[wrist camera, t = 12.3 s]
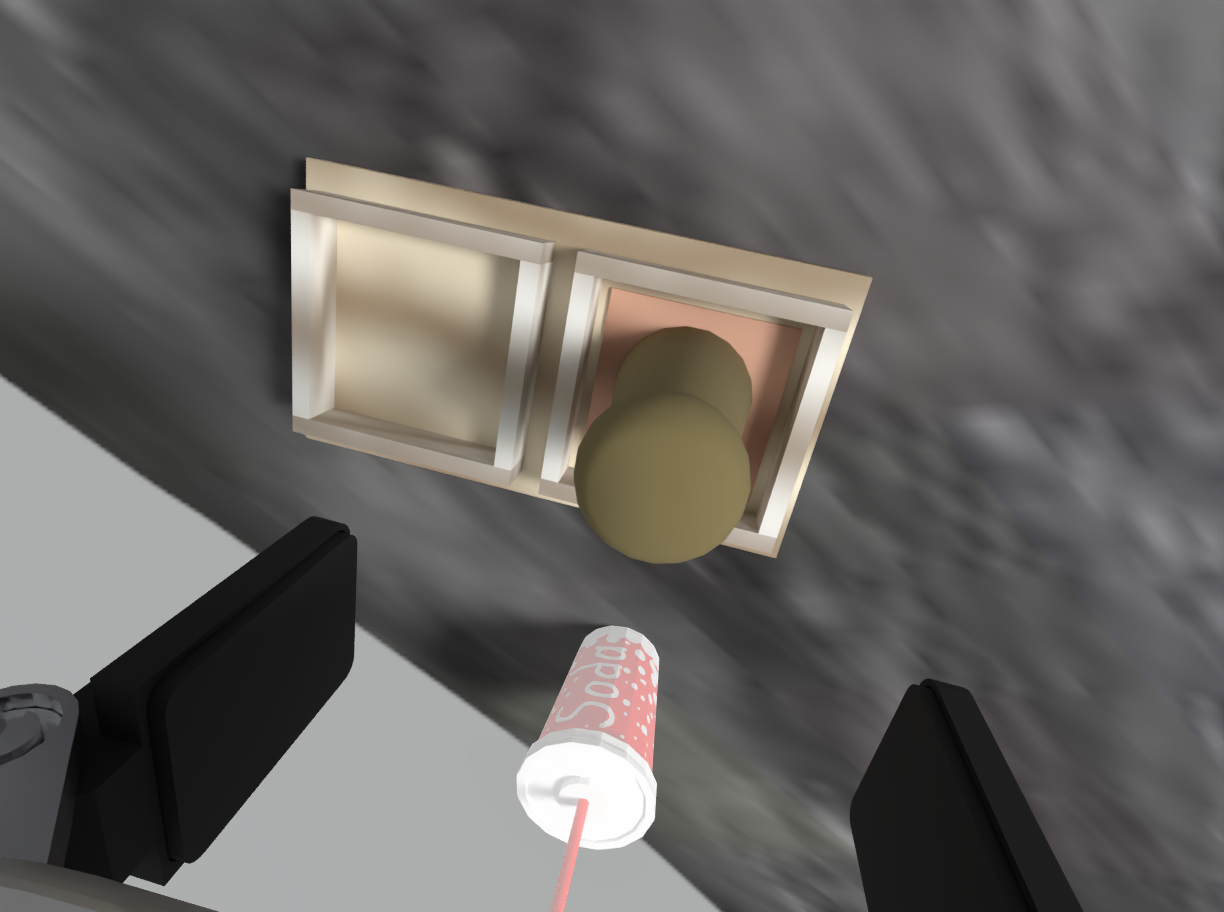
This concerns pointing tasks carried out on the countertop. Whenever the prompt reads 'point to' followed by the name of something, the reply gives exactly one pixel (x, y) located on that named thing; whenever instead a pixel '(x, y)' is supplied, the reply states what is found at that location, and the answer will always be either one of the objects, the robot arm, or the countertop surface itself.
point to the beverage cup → (596, 751)
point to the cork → (669, 449)
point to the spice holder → (538, 333)
